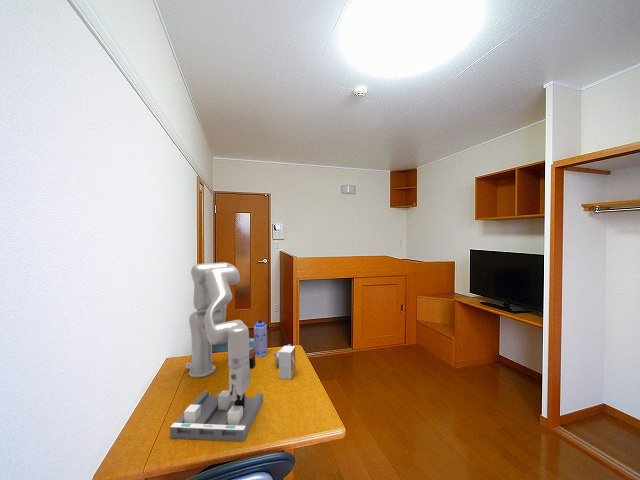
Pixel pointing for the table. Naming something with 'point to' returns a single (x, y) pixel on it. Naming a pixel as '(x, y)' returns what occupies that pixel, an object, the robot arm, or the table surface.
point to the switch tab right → (235, 415)
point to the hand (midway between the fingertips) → (239, 408)
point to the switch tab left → (192, 413)
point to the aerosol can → (260, 339)
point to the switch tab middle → (224, 400)
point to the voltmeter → (278, 353)
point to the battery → (251, 358)
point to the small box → (287, 362)
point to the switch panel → (217, 420)
